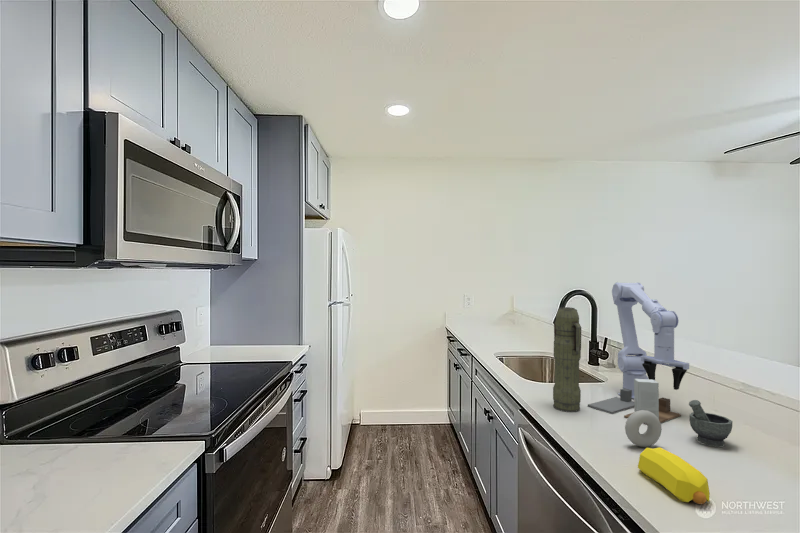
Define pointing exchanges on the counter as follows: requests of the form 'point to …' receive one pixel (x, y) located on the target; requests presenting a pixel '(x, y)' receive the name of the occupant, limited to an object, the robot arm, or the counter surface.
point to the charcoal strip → (615, 402)
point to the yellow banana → (675, 475)
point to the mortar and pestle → (709, 426)
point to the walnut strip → (663, 411)
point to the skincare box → (646, 395)
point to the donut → (651, 433)
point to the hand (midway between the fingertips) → (664, 386)
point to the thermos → (567, 360)
